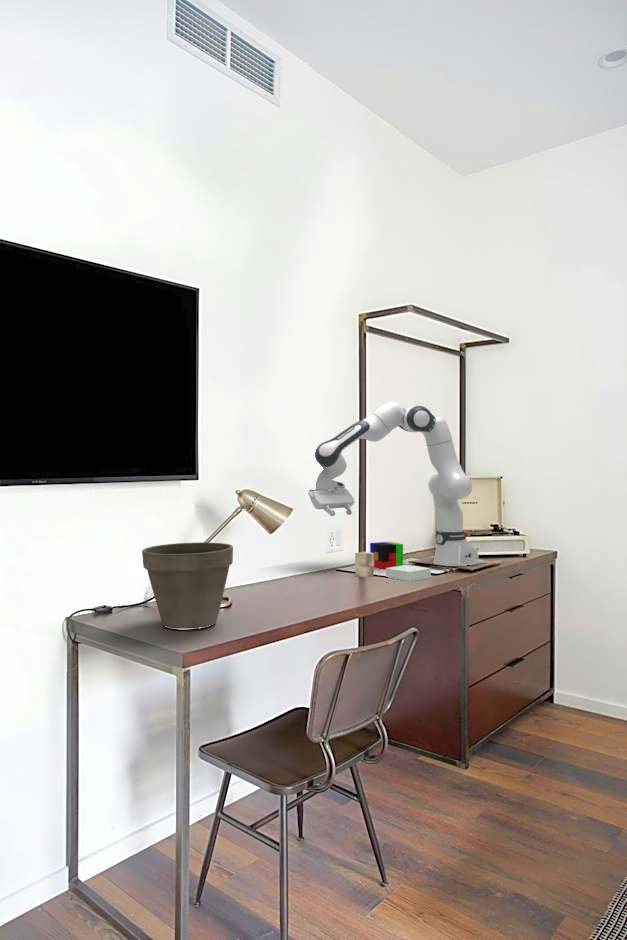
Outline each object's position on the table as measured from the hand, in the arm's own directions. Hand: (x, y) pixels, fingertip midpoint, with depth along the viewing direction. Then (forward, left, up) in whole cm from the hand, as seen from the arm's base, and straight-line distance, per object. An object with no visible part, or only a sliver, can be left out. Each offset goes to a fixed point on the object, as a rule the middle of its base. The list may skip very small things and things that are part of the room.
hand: (341, 514), depth 275 cm
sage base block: (-14, +24, -24) cm, 37 cm away
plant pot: (+84, +48, -23) cm, 99 cm away
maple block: (-2, +12, -23) cm, 26 cm away
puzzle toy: (-22, 0, -23) cm, 32 cm away
